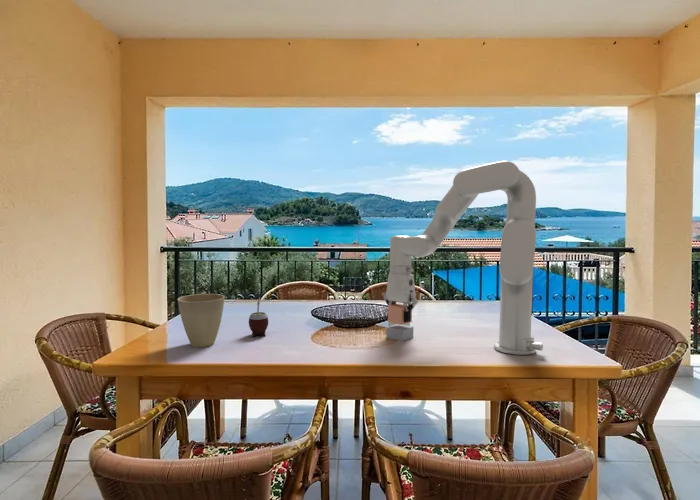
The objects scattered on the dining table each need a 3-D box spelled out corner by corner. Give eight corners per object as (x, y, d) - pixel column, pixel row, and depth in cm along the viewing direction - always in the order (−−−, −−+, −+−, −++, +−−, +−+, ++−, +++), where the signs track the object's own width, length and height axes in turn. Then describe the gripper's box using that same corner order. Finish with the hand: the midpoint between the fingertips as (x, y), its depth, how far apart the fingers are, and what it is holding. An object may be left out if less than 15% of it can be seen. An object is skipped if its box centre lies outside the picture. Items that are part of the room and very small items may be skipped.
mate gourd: (258, 331, 161) (257, 292, 160) (274, 334, 157) (274, 294, 156) (243, 336, 154) (243, 295, 154) (260, 339, 150) (259, 297, 149)
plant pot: (179, 340, 149) (178, 295, 148) (223, 336, 154) (222, 292, 153) (178, 352, 135) (177, 302, 134) (227, 348, 140) (226, 299, 139)
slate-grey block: (413, 337, 154) (413, 326, 154) (403, 341, 149) (403, 330, 149) (396, 334, 159) (396, 323, 158) (386, 338, 153) (386, 327, 153)
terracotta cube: (411, 322, 153) (411, 305, 153) (400, 324, 149) (401, 307, 149) (398, 319, 158) (399, 303, 157) (387, 321, 154) (388, 305, 153)
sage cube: (409, 328, 166) (409, 313, 166) (402, 332, 162) (402, 316, 161) (396, 326, 170) (396, 311, 170) (388, 329, 165) (388, 314, 165)
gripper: (426, 271, 149) (425, 322, 150) (389, 267, 161) (388, 314, 162) (412, 273, 143) (412, 326, 145) (375, 268, 156) (375, 317, 157)
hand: (399, 319), depth 153 cm, fingers closed on terracotta cube, 6 cm apart
